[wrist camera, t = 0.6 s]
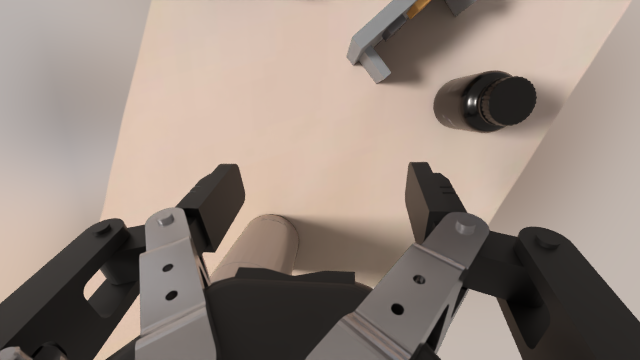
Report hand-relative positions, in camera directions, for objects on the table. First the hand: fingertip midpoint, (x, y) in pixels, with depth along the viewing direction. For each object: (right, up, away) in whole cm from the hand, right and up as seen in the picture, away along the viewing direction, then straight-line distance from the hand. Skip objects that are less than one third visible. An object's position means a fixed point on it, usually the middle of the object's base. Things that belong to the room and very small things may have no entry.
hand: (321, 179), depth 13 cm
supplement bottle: (+19, +11, +26) cm, 34 cm away
